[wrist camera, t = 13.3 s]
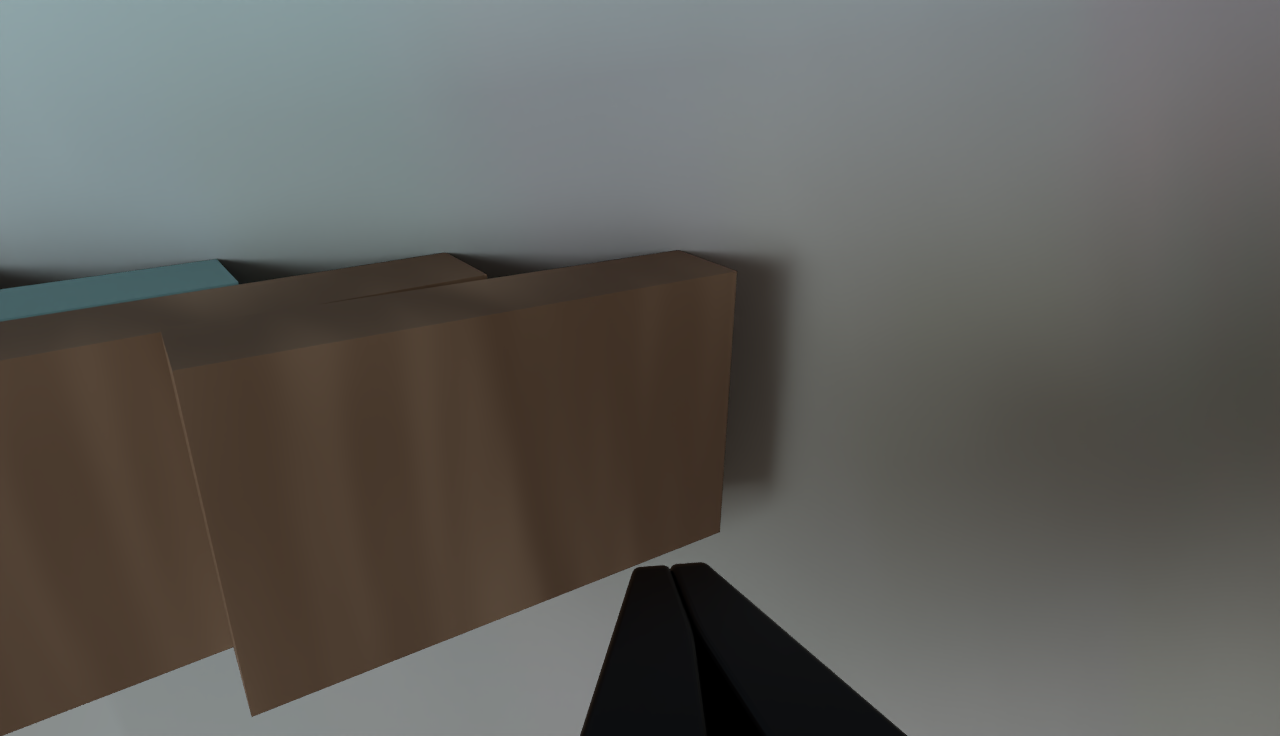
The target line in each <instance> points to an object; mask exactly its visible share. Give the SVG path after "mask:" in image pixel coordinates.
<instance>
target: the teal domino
mask: <svg viewBox="0 0 1280 736" xmlns="http://www.w3.org/2000/svg"><path fill="white" fill-rule="evenodd" d="M233 285H239V283H238V281H237V280H236V279H235V278H234V277H233V276H232V275H231V274H230V273H229V272H228V271H227V270H226V269H225V268H224V266H223V265H222V264H221V263H220V262H219V261H218V260H217V259H214V260H207V261H200V262H192V263H185V264H178V265H171V266H164V267H157V268H149V269H142V270H135V271H128V272H121V273H114V274H107V275H99V276H92V277H85V278H78V279H71V280H64V281H56V282H49V283H42V284H35V285H28V286H21V287H14V288H6V289H0V322H1V321H8V320H14V319H21V318H27V317H33V316H40V315H46V314H53V313H59V312H66V311H72V310H79V309H85V308H91V307H98V306H104V305H111V304H117V303H124V302H130V301H137V300H143V299H149V298H156V297H162V296H169V295H175V294H182V293H188V292H194V291H201V290H207V289H214V288H220V287H227V286H233Z"/></svg>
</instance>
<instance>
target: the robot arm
mask: <svg viewBox="0 0 1280 736" xmlns="http://www.w3.org/2000/svg"><path fill="white" fill-rule="evenodd" d="M580 736H907V735H906V734H905V733H903V732H902V731H901V730H900V729H899V728H898V727H896V726H895V725H894V724H893V723H892V722H891V721H889V720H888V719H887V718H886V717H885V716H884V715H882V714H881V713H880V712H879V711H878V710H877V709H875V708H874V707H873V706H872V705H871V704H870V703H868V702H867V701H866V700H865V699H864V698H863V697H861V696H860V695H859V694H858V693H857V692H856V691H854V690H853V689H852V688H851V687H850V686H849V685H847V684H846V683H845V682H844V681H843V680H842V679H840V678H839V677H838V676H837V675H836V674H835V673H833V672H832V671H831V670H830V669H829V668H828V667H826V666H825V665H824V664H823V663H822V662H821V661H819V660H818V659H817V658H816V657H815V656H814V655H812V654H811V653H810V652H809V651H808V650H807V649H805V648H804V647H803V646H802V645H801V644H800V643H798V642H797V641H796V640H795V639H794V638H793V637H791V636H790V635H789V634H788V633H787V632H786V631H784V630H783V629H782V628H781V627H780V626H779V625H777V624H776V623H775V622H774V621H773V620H772V619H770V618H769V617H768V616H767V615H766V614H765V613H763V612H762V611H761V610H760V609H759V608H758V607H756V606H755V605H754V604H753V603H752V602H751V601H749V600H748V599H747V598H746V597H745V596H744V595H742V594H741V593H740V592H739V591H738V590H737V589H735V588H734V587H733V586H732V585H731V584H730V583H728V582H727V581H726V580H725V579H724V578H723V577H721V576H720V575H719V574H718V573H717V572H716V571H714V570H713V569H712V568H711V567H710V566H709V565H707V564H705V563H701V562H699V563H686V564H675V565H673V566H672V567H671V569H669V568H668V567H667V566H664V565H660V566H647V567H638V568H636V569H634V571H633V573H632V575H631V579H630V582H629V585H628V588H627V591H626V594H625V597H624V600H623V603H622V607H621V610H620V613H619V616H618V619H617V622H616V625H615V628H614V632H613V635H612V638H611V641H610V644H609V647H608V650H607V653H606V656H605V660H604V663H603V666H602V669H601V672H600V675H599V678H598V681H597V685H596V688H595V691H594V694H593V697H592V700H591V703H590V706H589V710H588V713H587V716H586V719H585V722H584V725H583V728H582V731H581V734H580Z"/></svg>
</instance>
